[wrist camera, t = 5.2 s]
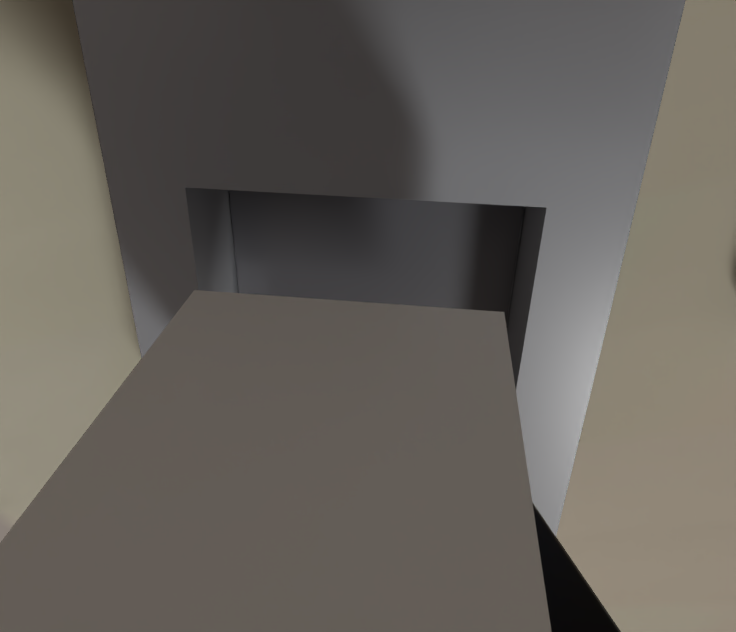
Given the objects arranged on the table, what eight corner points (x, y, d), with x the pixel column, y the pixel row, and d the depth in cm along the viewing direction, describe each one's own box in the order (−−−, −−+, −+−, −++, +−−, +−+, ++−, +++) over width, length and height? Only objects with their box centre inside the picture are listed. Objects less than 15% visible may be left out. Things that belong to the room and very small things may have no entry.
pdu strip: (539, 457, 15) (558, 563, 12) (208, 427, 16) (160, 522, 13) (838, -1013, 6) (1147, -1781, 3) (20, -923, 7) (-261, -1496, 4)
